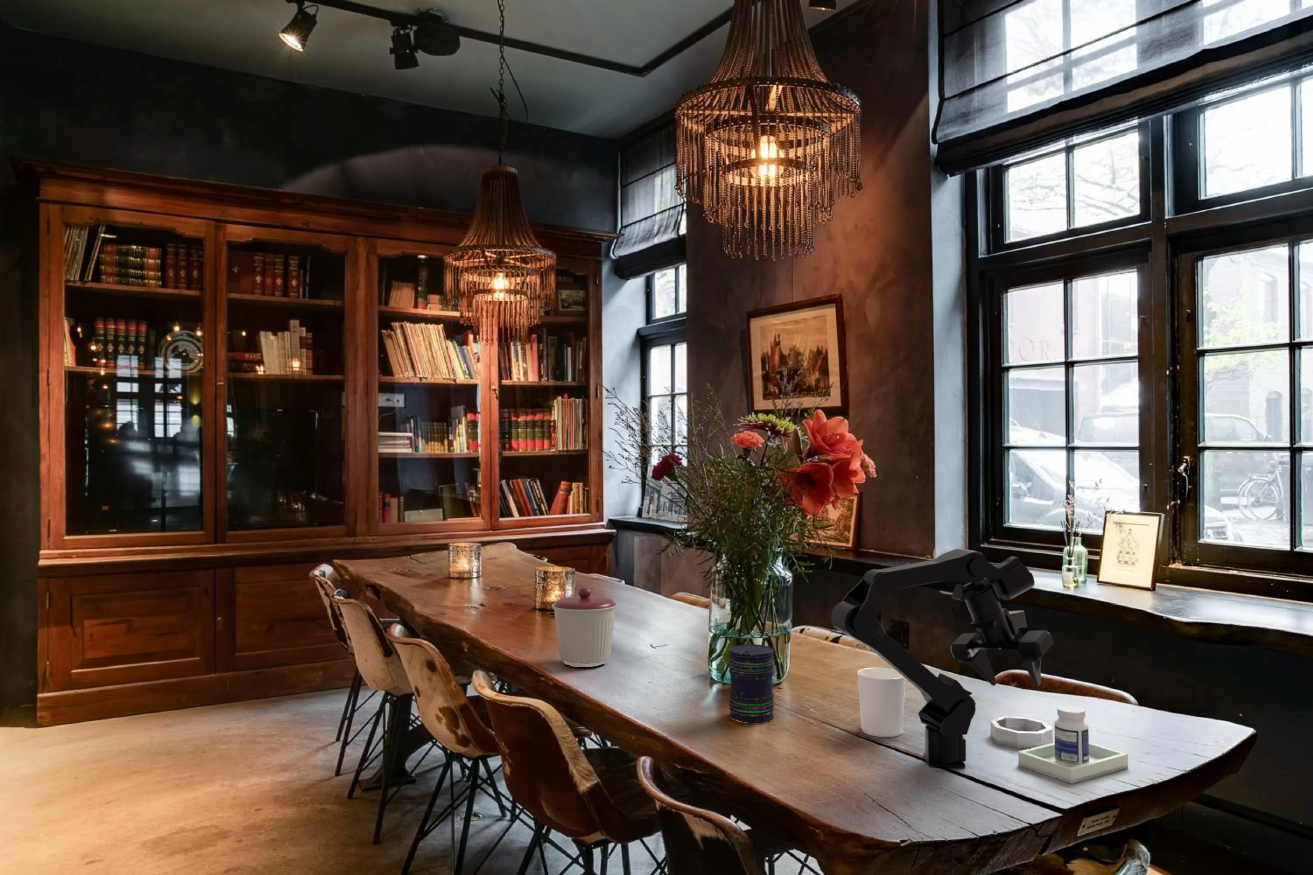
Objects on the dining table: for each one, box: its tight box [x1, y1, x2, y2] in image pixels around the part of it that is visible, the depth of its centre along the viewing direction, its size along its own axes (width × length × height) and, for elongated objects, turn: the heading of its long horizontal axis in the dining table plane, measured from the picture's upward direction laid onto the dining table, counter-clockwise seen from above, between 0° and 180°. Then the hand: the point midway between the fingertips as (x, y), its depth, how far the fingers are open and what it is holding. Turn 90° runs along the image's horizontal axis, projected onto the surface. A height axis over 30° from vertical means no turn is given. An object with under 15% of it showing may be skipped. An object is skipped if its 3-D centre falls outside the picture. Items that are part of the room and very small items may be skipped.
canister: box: [551, 586, 619, 664], centre depth 247 cm, size 18×18×21 cm
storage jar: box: [728, 643, 775, 724], centre depth 197 cm, size 10×10×15 cm
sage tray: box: [1017, 742, 1129, 785], centre depth 165 cm, size 16×11×2 cm
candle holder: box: [856, 667, 906, 738], centre depth 187 cm, size 10×10×12 cm
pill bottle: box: [1054, 705, 1090, 767], centre depth 165 cm, size 6×6×10 cm
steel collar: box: [989, 716, 1054, 749], centre depth 181 cm, size 11×11×3 cm
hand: (1016, 684), depth 171 cm, fingers open, 9 cm apart
